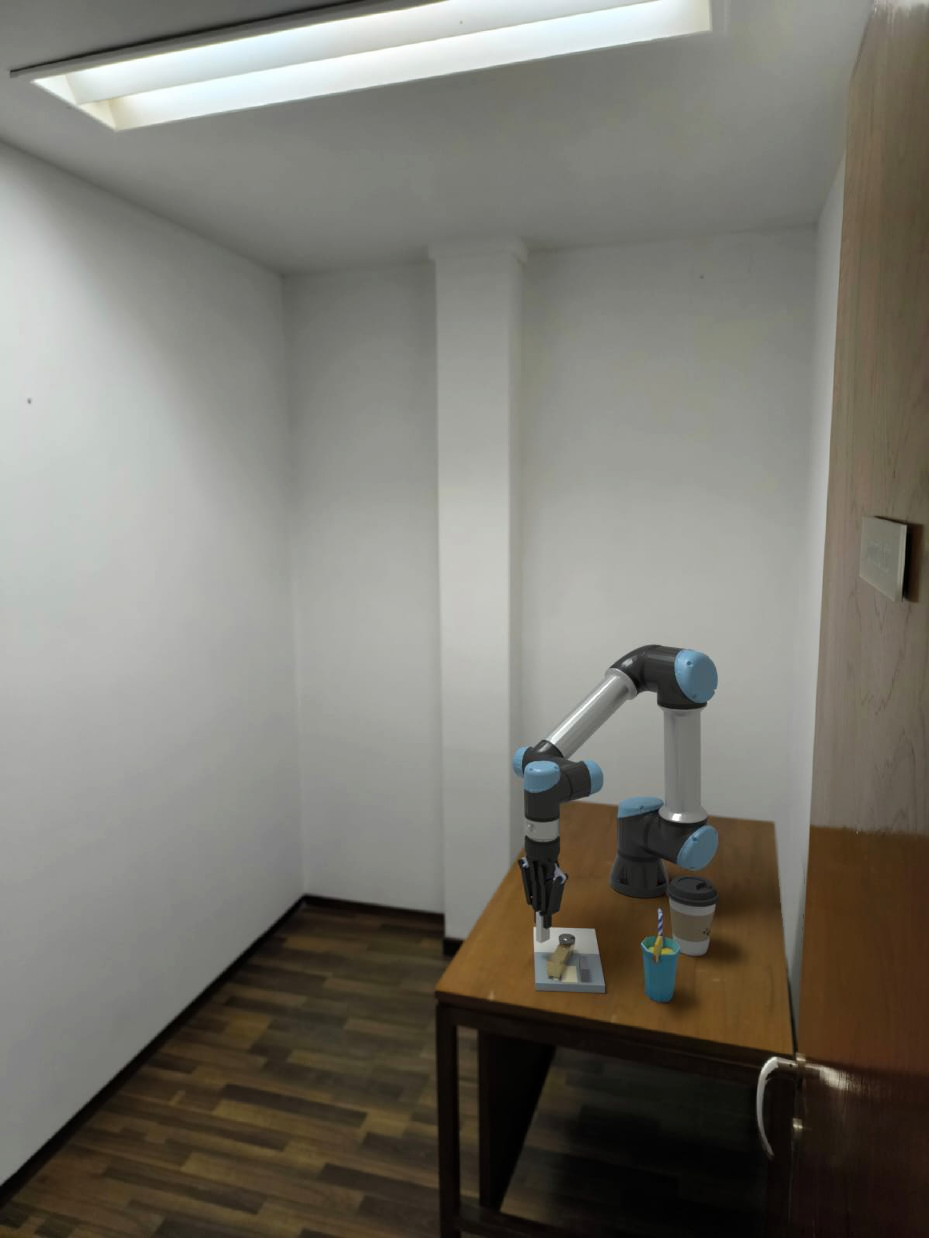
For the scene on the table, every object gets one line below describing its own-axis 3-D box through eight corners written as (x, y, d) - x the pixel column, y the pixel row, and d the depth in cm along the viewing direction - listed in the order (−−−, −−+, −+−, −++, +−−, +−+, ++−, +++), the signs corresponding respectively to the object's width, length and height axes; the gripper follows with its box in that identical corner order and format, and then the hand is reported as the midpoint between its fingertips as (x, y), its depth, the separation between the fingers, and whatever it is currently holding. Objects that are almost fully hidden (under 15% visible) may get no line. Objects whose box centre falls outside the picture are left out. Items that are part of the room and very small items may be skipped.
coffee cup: (710, 966, 174) (713, 899, 172) (658, 952, 179) (660, 888, 178) (722, 942, 184) (724, 879, 182) (672, 930, 189) (674, 868, 187)
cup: (639, 971, 172) (641, 904, 170) (677, 975, 170) (679, 907, 169) (639, 1009, 158) (641, 937, 156) (680, 1014, 157) (683, 941, 155)
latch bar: (561, 943, 179) (561, 930, 178) (577, 946, 177) (577, 933, 177) (544, 974, 167) (544, 960, 166) (561, 977, 165) (561, 963, 165)
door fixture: (594, 935, 187) (594, 917, 186) (604, 992, 164) (605, 972, 164) (533, 933, 188) (533, 915, 187) (535, 990, 165) (535, 969, 164)
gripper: (508, 831, 174) (509, 934, 177) (552, 849, 164) (553, 958, 167) (532, 821, 179) (533, 922, 182) (577, 839, 169) (577, 945, 172)
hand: (543, 939), depth 175 cm, fingers closed
